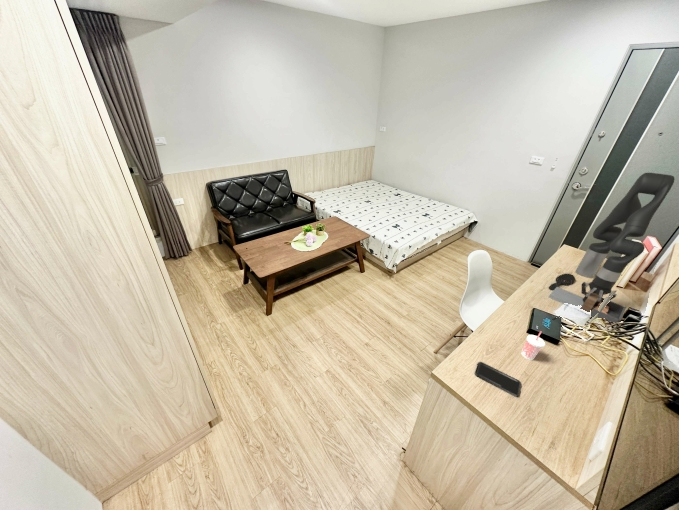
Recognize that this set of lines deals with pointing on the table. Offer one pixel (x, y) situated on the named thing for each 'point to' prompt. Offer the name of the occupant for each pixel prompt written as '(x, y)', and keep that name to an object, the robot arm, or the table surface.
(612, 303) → the tray
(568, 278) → the hairbrush
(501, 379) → the phone
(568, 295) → the board
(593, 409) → the table surface
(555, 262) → the table surface
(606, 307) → the tile
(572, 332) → the phone case
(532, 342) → the beverage cup
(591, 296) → the brown wooden block
